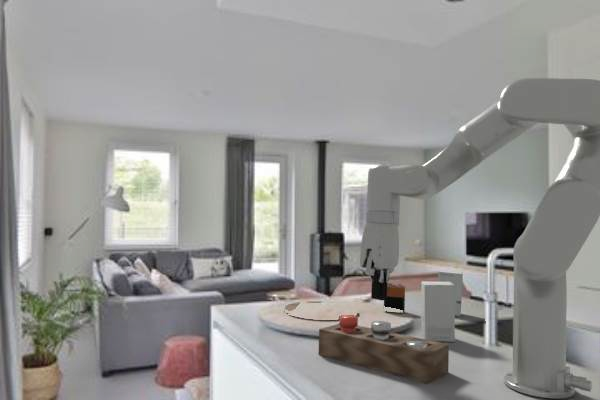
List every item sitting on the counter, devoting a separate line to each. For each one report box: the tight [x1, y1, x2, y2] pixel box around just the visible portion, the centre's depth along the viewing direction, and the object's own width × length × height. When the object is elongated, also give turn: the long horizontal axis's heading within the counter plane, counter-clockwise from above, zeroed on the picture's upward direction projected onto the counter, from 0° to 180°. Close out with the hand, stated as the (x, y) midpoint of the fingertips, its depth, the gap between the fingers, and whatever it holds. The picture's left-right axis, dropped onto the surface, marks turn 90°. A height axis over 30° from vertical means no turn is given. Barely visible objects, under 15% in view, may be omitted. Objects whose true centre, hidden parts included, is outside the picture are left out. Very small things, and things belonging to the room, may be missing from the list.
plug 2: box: [406, 341, 427, 349], centre depth 102 cm, size 4×4×5 cm
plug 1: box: [370, 320, 392, 340], centre depth 108 cm, size 4×4×5 cm
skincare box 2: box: [437, 270, 464, 317], centre depth 166 cm, size 8×6×15 cm
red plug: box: [338, 315, 359, 333], centre depth 114 cm, size 4×4×5 cm
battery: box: [383, 282, 406, 312], centre depth 167 cm, size 4×7×10 cm, turn 71°
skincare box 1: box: [420, 280, 456, 343], centre depth 131 cm, size 8×7×16 cm
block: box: [318, 323, 450, 385], centre depth 108 cm, size 28×10×6 cm, turn 49°
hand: (378, 299), depth 109 cm, fingers closed
